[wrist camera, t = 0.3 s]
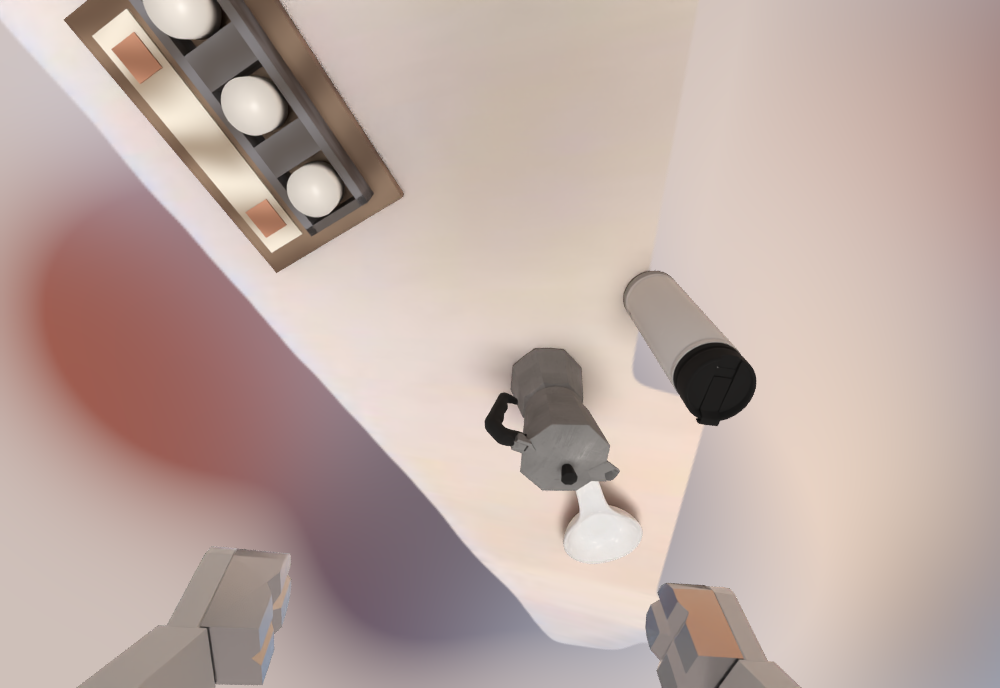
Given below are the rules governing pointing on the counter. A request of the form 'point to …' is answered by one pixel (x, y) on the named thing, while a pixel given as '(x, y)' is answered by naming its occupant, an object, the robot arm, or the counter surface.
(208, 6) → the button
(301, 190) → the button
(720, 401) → the travel mug
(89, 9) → the button board
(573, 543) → the spoon rest
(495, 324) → the counter surface
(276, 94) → the button middle
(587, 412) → the coffeepot
